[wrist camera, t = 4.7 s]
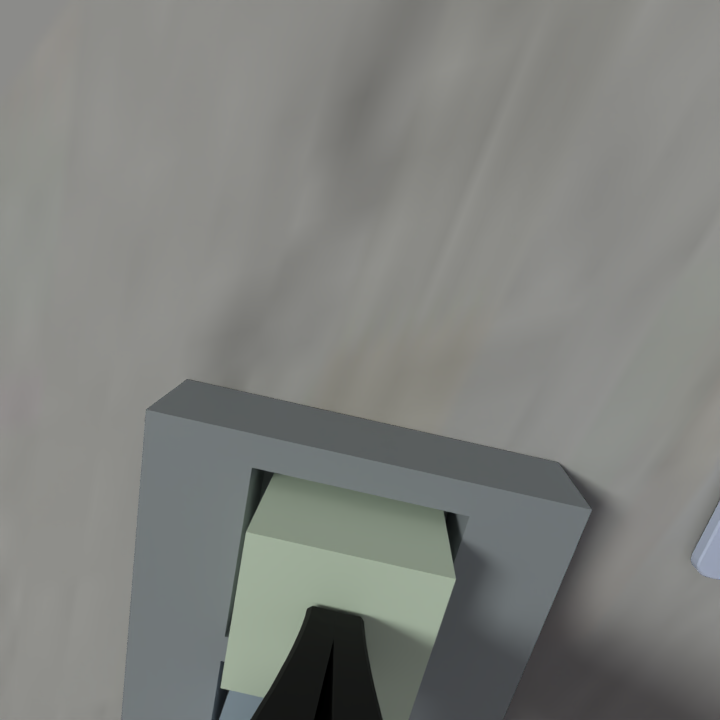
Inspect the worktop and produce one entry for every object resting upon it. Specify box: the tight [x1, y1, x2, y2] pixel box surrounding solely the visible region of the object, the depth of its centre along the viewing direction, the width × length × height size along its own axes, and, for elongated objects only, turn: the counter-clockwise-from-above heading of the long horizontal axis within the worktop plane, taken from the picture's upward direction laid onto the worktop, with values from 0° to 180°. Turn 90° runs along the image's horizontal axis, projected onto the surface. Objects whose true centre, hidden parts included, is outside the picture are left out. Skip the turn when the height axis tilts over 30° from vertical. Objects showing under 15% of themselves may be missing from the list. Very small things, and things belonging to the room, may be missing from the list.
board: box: [121, 379, 592, 720], centre depth 16 cm, size 12×22×2 cm, turn 168°
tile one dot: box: [220, 473, 456, 720], centre depth 13 cm, size 5×5×4 cm
